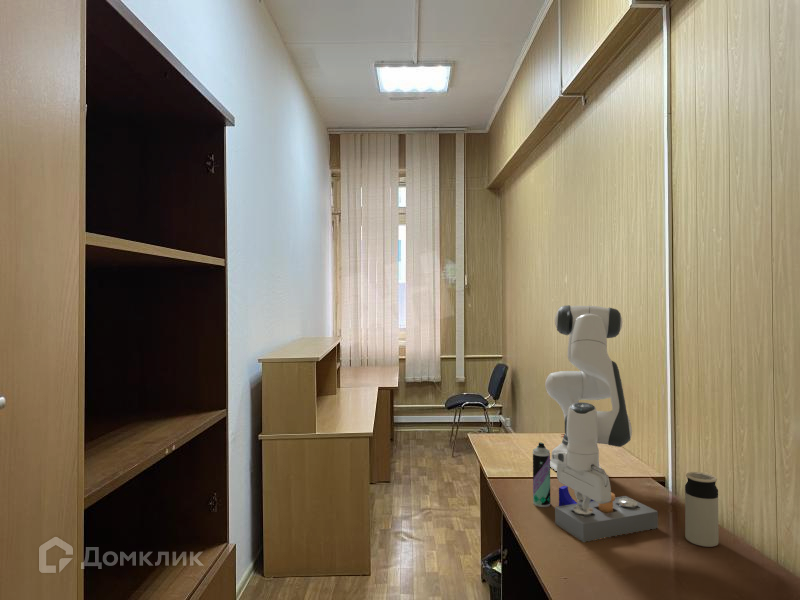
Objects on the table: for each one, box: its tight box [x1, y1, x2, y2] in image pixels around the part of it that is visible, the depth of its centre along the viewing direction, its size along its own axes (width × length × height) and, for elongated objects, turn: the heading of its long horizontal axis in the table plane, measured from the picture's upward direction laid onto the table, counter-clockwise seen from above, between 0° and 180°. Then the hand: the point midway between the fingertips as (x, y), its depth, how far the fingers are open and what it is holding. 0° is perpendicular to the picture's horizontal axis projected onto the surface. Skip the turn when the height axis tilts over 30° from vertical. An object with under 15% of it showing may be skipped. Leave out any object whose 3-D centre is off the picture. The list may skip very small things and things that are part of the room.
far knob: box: [618, 497, 638, 510], centre depth 161 cm, size 5×5×6 cm
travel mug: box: [684, 471, 719, 548], centre depth 148 cm, size 8×8×18 cm
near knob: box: [574, 505, 593, 517], centre depth 156 cm, size 5×5×6 cm
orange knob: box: [599, 492, 616, 513], centre depth 158 cm, size 5×5×6 cm
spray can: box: [532, 442, 551, 508], centre depth 176 cm, size 6×6×20 cm
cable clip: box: [558, 485, 594, 507], centre depth 171 cm, size 12×4×6 cm, turn 43°
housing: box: [554, 495, 659, 543], centre depth 158 cm, size 13×26×5 cm, turn 109°
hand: (583, 507), depth 156 cm, fingers closed
